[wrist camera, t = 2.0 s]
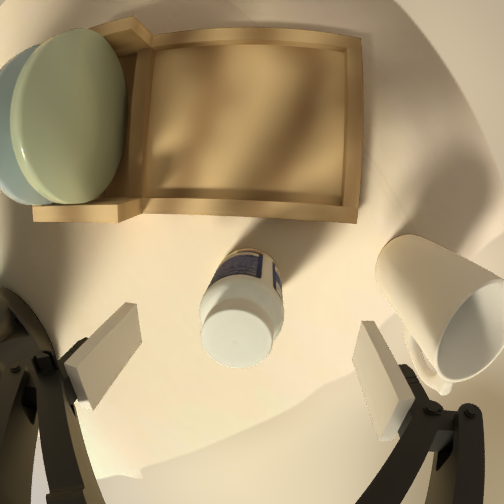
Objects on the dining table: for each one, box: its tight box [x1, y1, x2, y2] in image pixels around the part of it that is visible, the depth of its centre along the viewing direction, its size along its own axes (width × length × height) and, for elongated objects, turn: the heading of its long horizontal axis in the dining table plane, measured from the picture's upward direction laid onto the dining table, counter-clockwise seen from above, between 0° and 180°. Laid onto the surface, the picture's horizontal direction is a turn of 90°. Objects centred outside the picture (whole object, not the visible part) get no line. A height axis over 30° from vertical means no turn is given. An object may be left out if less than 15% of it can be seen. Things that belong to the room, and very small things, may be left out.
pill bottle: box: [199, 248, 284, 368], centre depth 20 cm, size 5×5×10 cm
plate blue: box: [0, 44, 54, 205], centre depth 15 cm, size 1×12×12 cm, turn 177°
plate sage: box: [10, 28, 128, 204], centre depth 15 cm, size 1×12×12 cm, turn 178°
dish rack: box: [32, 16, 363, 224], centre depth 18 cm, size 25×15×6 cm, turn 88°
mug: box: [375, 234, 504, 395], centre depth 18 cm, size 10×7×12 cm, turn 1°
